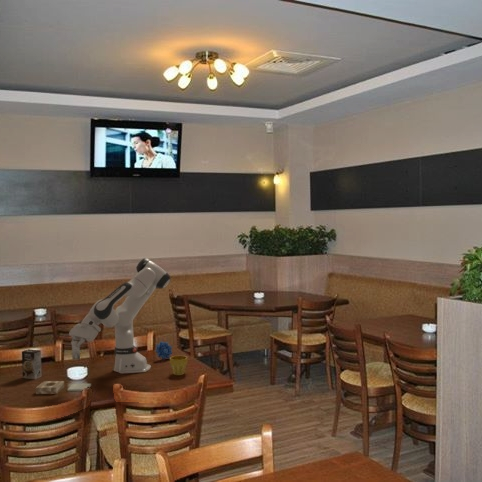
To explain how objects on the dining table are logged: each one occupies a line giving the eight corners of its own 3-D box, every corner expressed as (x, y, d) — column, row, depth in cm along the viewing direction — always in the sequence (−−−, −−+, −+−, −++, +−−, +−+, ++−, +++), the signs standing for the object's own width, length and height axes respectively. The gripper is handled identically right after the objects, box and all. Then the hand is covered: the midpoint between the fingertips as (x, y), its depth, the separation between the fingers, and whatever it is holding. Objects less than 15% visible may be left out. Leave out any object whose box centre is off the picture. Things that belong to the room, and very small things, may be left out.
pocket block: (64, 387, 326) (64, 381, 325) (56, 393, 314) (56, 387, 314) (44, 387, 326) (44, 381, 326) (36, 393, 315) (35, 387, 315)
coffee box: (22, 378, 345) (21, 351, 344) (29, 375, 351) (28, 348, 350) (34, 379, 342) (33, 352, 341) (42, 376, 348) (41, 349, 347)
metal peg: (81, 357, 324) (80, 340, 324) (78, 359, 320) (77, 341, 320) (74, 358, 325) (73, 340, 324) (71, 359, 321) (70, 341, 320)
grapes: (158, 362, 374) (157, 343, 373) (154, 359, 380) (153, 341, 379) (174, 359, 380) (174, 341, 379) (170, 357, 385) (170, 339, 385)
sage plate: (91, 385, 328) (91, 383, 328) (85, 391, 318) (85, 389, 318) (73, 385, 329) (73, 383, 328) (67, 391, 319) (67, 389, 318)
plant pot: (187, 375, 342) (187, 359, 341) (169, 376, 341) (169, 360, 341) (187, 370, 352) (187, 354, 352) (170, 371, 352) (170, 355, 351)
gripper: (75, 319, 333) (60, 339, 327) (96, 323, 320) (81, 344, 313) (82, 325, 337) (68, 345, 330) (103, 329, 323) (88, 350, 317)
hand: (74, 345), depth 322 cm, fingers closed on metal peg, 4 cm apart
